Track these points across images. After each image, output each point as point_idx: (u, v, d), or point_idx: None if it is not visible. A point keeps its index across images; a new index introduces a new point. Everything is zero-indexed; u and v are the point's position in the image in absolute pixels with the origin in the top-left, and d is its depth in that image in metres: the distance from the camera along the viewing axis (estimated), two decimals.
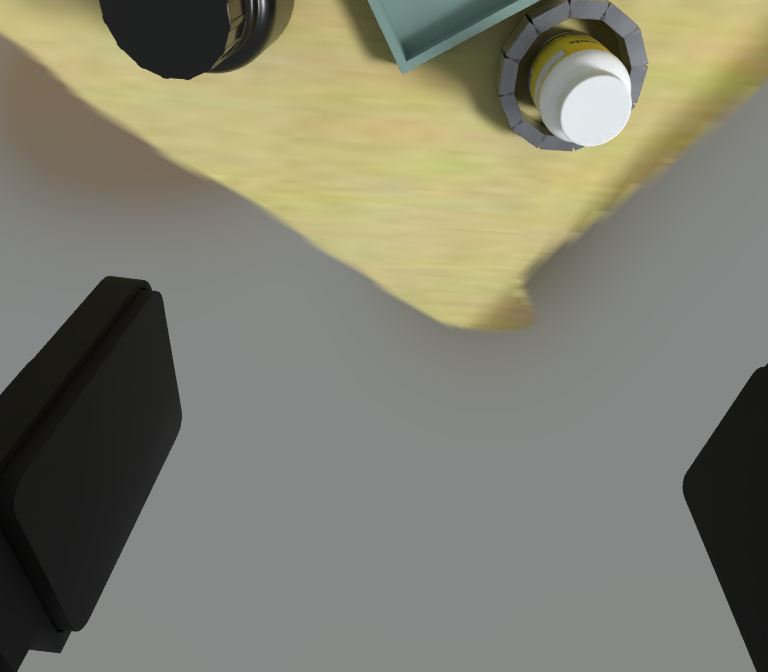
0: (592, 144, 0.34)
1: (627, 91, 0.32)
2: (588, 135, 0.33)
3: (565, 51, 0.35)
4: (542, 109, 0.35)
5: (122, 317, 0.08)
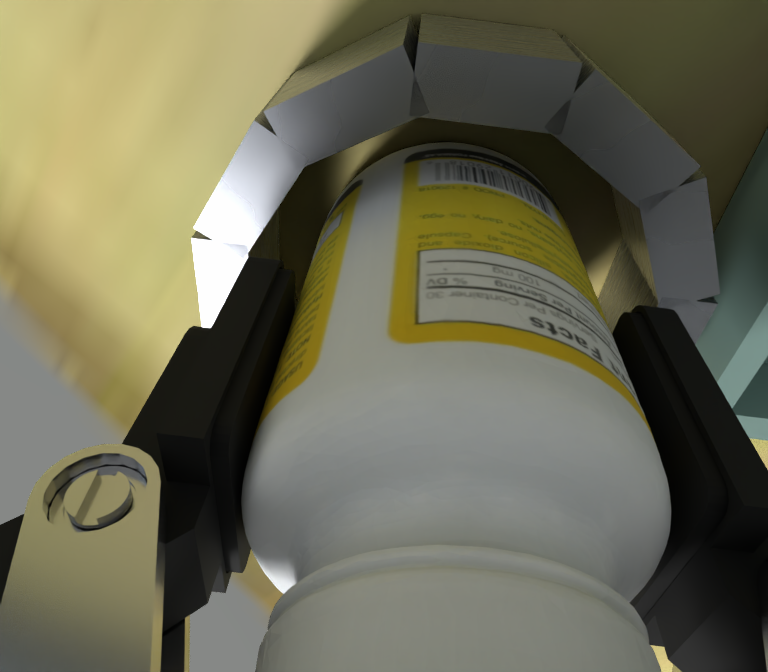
0: None
1: None
2: None
3: None
4: (555, 405, 0.06)
5: (273, 292, 0.08)
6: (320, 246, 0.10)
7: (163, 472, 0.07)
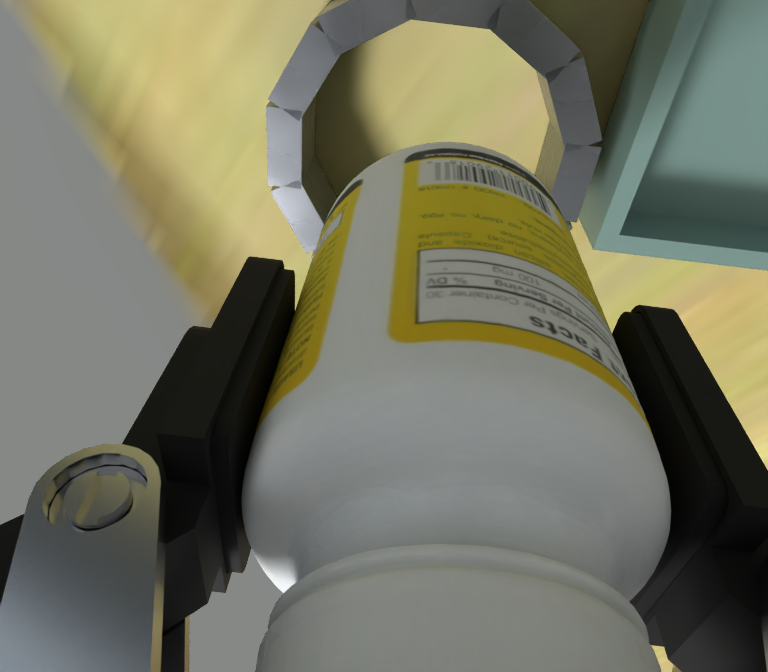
0: None
1: None
2: None
3: None
4: (555, 405, 0.06)
5: (273, 292, 0.08)
6: (320, 246, 0.10)
7: (163, 472, 0.07)
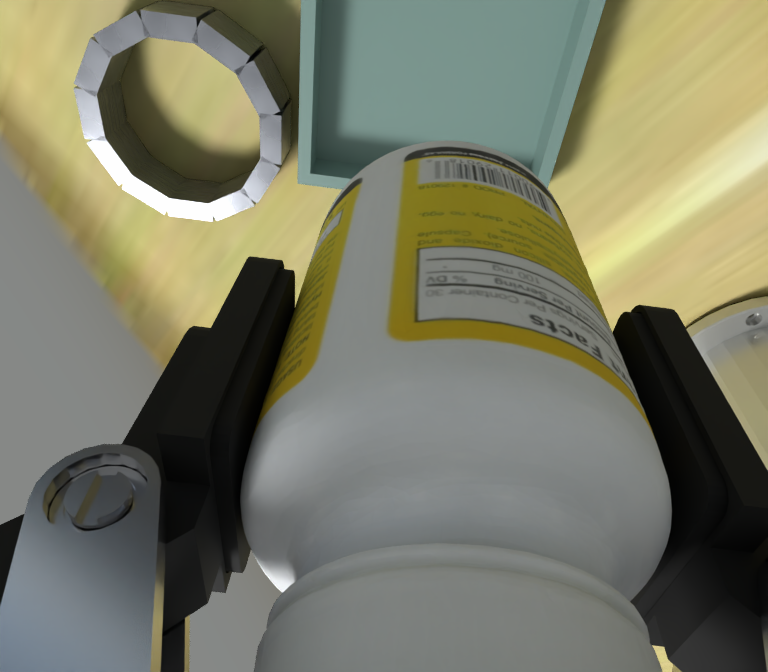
0: None
1: None
2: None
3: None
4: (555, 403, 0.06)
5: (272, 292, 0.08)
6: (319, 244, 0.10)
7: (163, 472, 0.07)
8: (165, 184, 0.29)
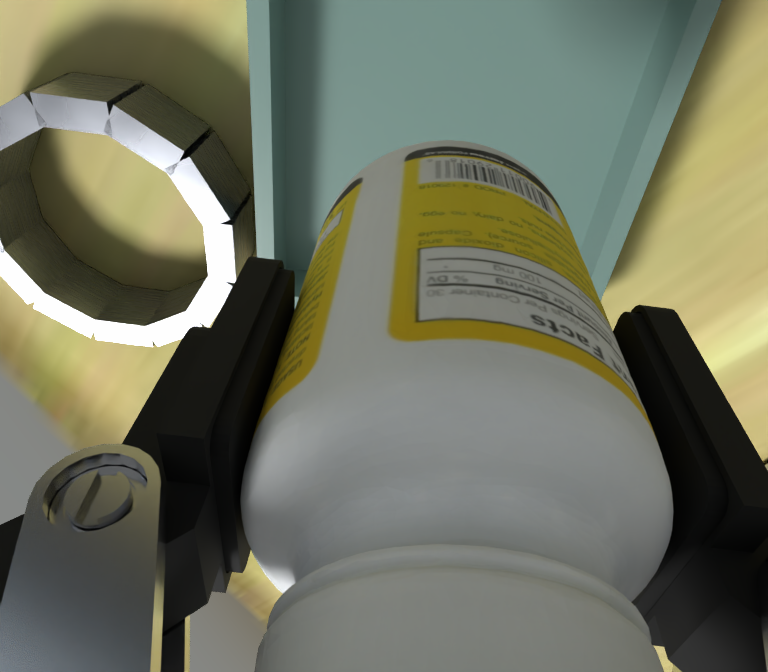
0: None
1: None
2: None
3: None
4: (556, 403, 0.06)
5: (272, 292, 0.08)
6: (320, 244, 0.10)
7: (163, 472, 0.07)
8: (92, 299, 0.23)
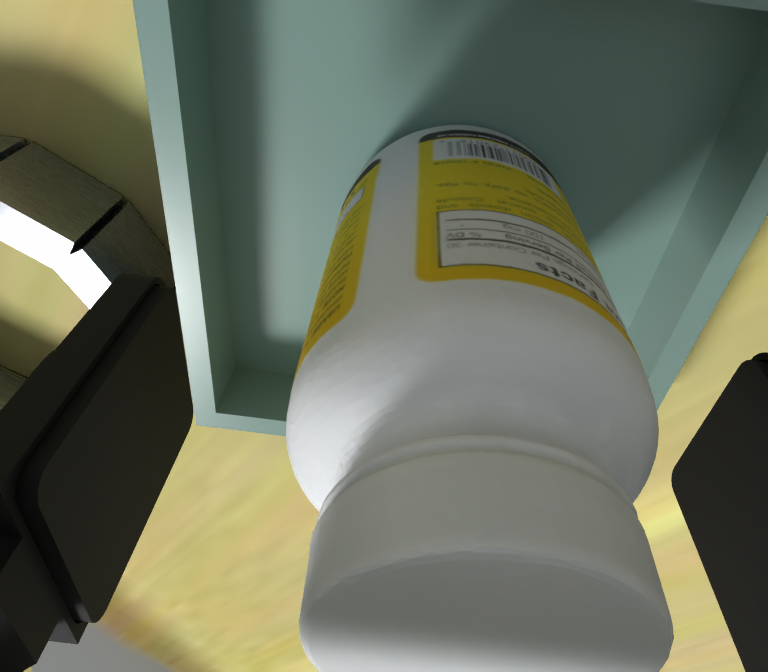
0: (322, 608, 0.06)
1: None
2: (383, 609, 0.06)
3: None
4: (558, 328, 0.07)
5: (137, 313, 0.08)
6: (344, 217, 0.11)
7: None
8: None
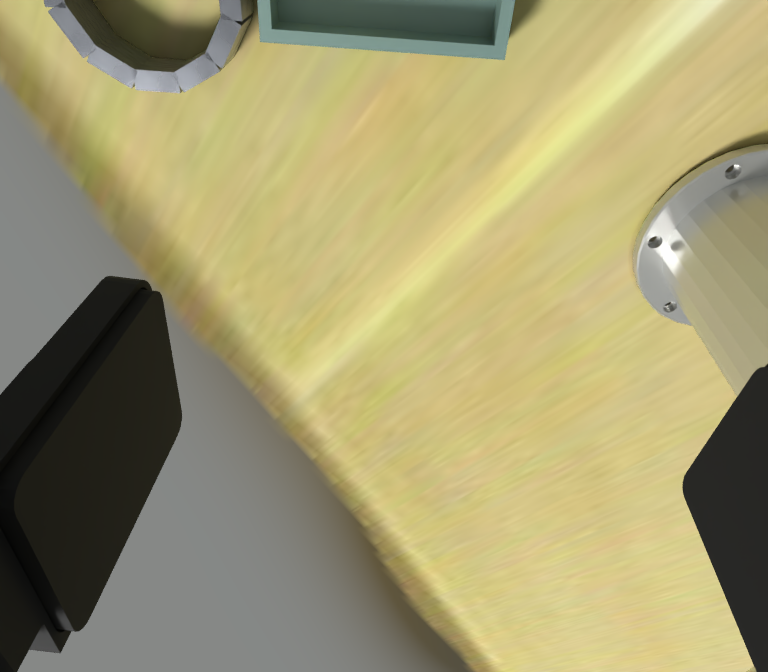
0: None
1: None
2: None
3: None
4: None
5: (121, 317, 0.08)
6: None
7: None
8: (130, 58, 0.29)
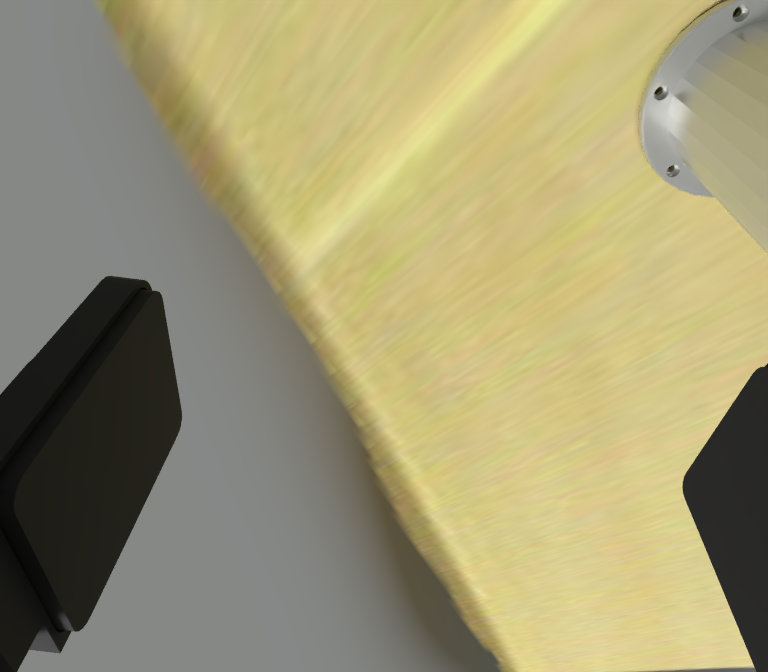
0: None
1: None
2: None
3: None
4: None
5: (121, 317, 0.08)
6: None
7: None
8: None
